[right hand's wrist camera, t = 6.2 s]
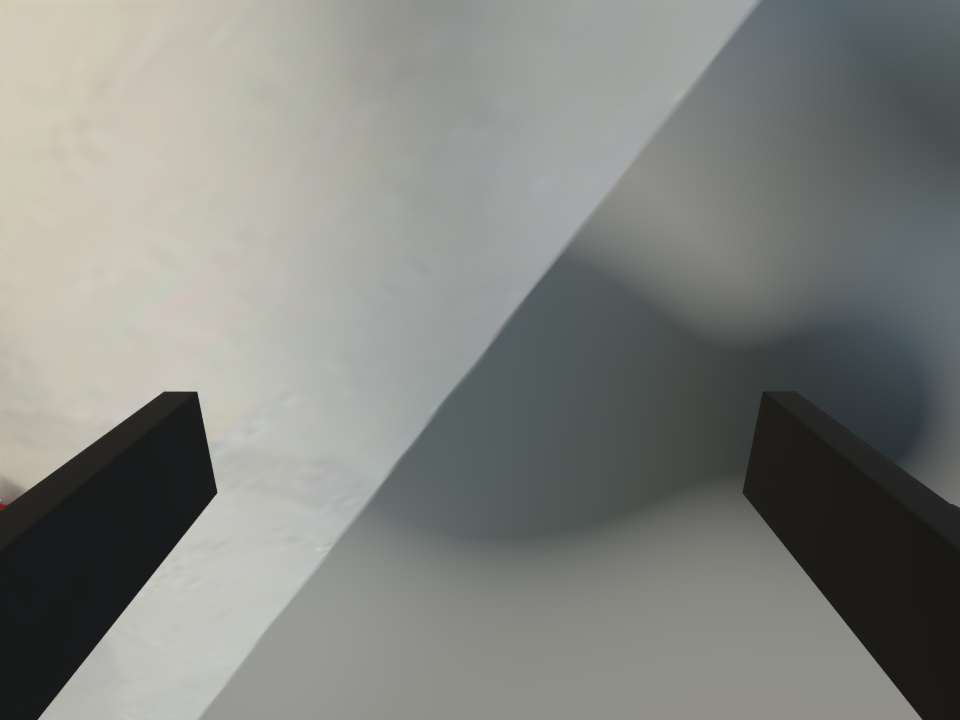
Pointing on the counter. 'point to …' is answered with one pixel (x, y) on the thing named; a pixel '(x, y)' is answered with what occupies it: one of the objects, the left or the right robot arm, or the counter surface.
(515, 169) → the counter surface
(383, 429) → the counter surface
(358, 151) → the counter surface
